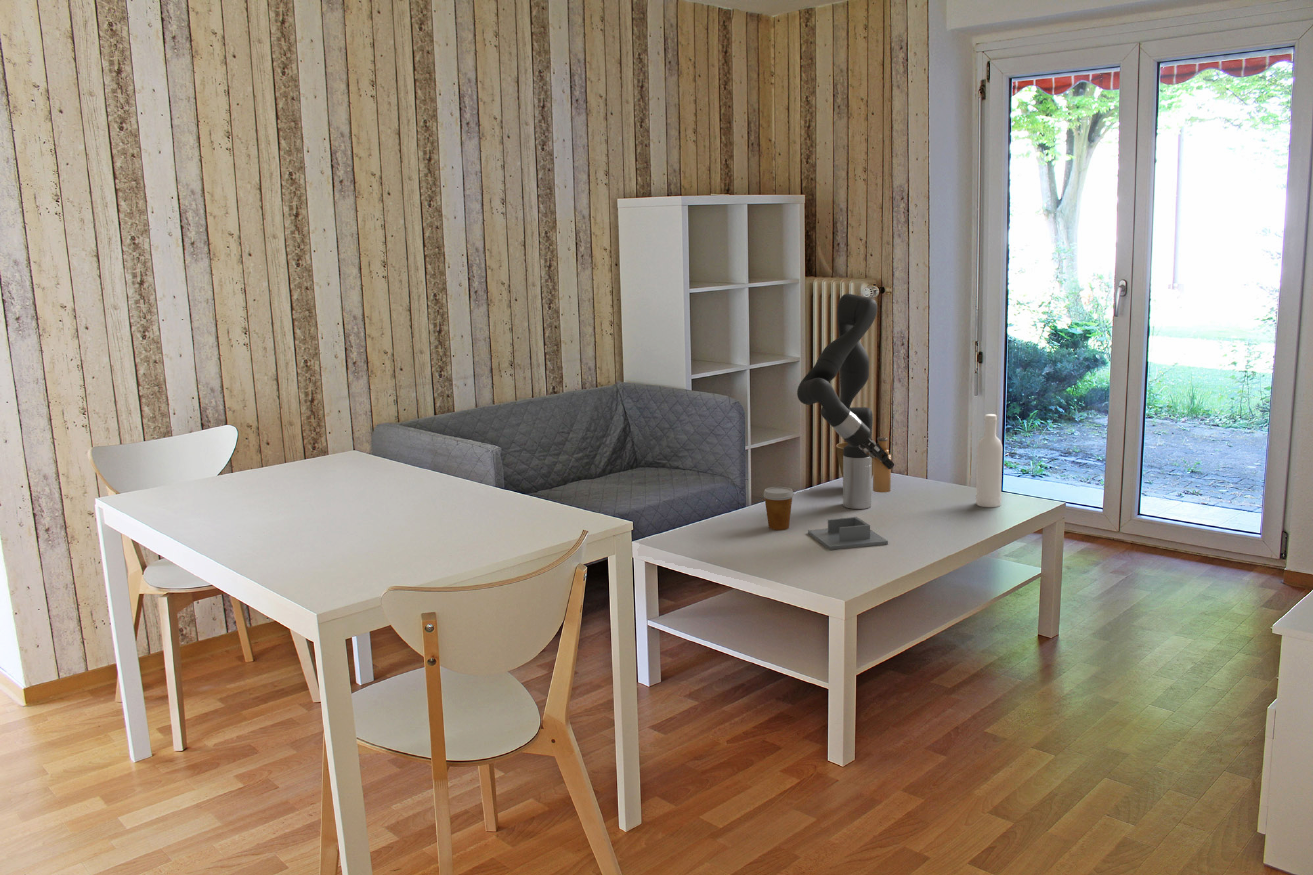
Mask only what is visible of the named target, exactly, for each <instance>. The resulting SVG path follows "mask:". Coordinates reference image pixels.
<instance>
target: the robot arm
mask: <svg viewBox="0 0 1313 875" xmlns="http://www.w3.org/2000/svg"><path fill="white" fill-rule="evenodd" d="M836 311H837V312H836V318H837V328H838V338H837V337H836V339H834V340H832V342H830V343H828V344H827V346H825V348H823V350H822V352H821V353H820V355H819V356H818V359H817V360H816V362H815V363H814V366H813V367H812V368H811V369H810V370H809V371H808V373H807V374H806V375H805V376H804V377H803V378H802V379H801V381H800V382H799V385H798V386H797V391H796V396H797V398H798V401H799V402H800V403H802V404H803V405H808V406H810V405H815V404H819V405H820V406H822V407H821V409H820V415H821V417H822V419H824V420H825V421H826V422H827V423H828V424H829V425H830V426H831V427H832V428H833V430H834V431H835V432H836V433H837V435H839V436H840V437H841V438H842V439H843V440H844V441H845V442H847V443H848V444H849V445H847V446H845V447H844V449H843V477H842V505H843V507H844V508H847V509H852V510H862V509H869V508H871V507H872V482H873V476H872V458H873V457H874V458H875V457H876V458H877V459H878V460H880V462H882V463H883V464H884V465H885V466H886V467H887V468H888V469H891V470H892V469H893V467H894V466H895V463H894V462H893V461H892V459H891V460H890V459H889V458H888V456H889V455H888V454H887V453H886V452H885V451H884V450H883V449H882V448H881V447H880V445H879V444H878V443H876V441H875V440H874V439H873V437H872V436H873V420H874V417H873V416H874V415H873V411H872V409H871V408H870V407H868V406H866V407H863V406H861V407H859V406H858V407H857V406H854V407H853V406H852V407H851V405H852V402H853V400H854V399H855V398H856V396H857V395H858V394H859V393H860V391H861V390H862V389H863V387H864V386H866V384H867V382H868V380H869V378H870V359H869V355H868V353H867V351H866V349H865V346H863V344H862V343H861V339H863V337H864V336H865V334H867V332H868V331H869V329H870V328H871V326H872V324H874V321H875V319H876V317H877V314H878V303H877V301H876V299H873V298H870V297H866V296H862V295H858V294H852V293H844V294H843V295H842V296H841V297H840V298H839V300H838V304H837V310H836ZM838 373H839V393H840V395H839V396H838V394H837V392H836V391H835V389H834V387H833V385H832V384H831V383H830V382H831V381H833V380H834V379H835V378H836V376H837V375H838ZM882 454H883V455H882ZM881 455H882V456H881Z"/></svg>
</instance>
